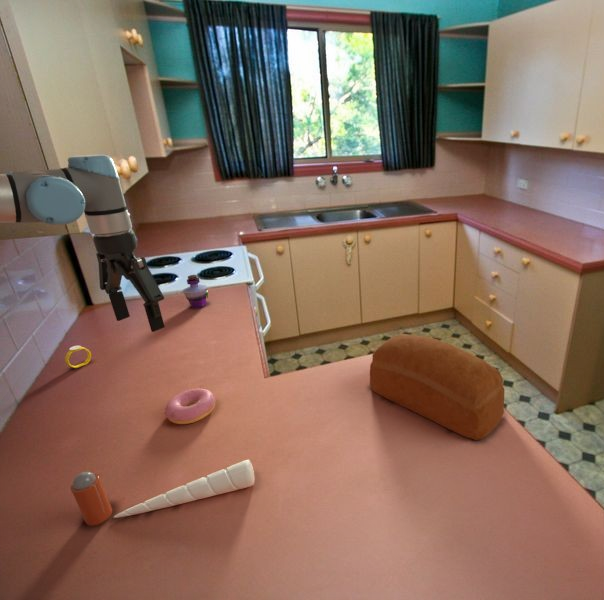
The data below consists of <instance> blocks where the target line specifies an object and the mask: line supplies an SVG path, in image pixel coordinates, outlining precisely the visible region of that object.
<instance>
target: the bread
mask: <svg viewBox="0 0 604 600" xmlns="http://www.w3.org/2000/svg"><path fill="white" fill-rule="evenodd" d="M503 383H504V379H503V376H502V375H501V373H500V370H498V369H497V368H495V367H494V366H493V365H491V364H490V363H489V362H487V361H485V360H484V359H482V358H480V357H478V356H477V355H475V354H472V353H470V352H468V351H466V350H464V349H462V348H460V347H457V346H456V345H453V344H450V343H448V342H447V341H442V340H440V339H437V338H434V337H428V336H424V335H417V334H410V333H409V334H408V333H400V334H396V335H393V336H392V337H390V338H388V339H387V340H385V341H384V342H383V343H382V344H381V345H380V346H378V347H377V348H376V349H375V351H373V353H372V361H371V363H370V365H369V385H370V389H371V390H372V391H373V393H376V394H378V395H379V396H381V397H383V398H385V399H387V400H388V401H391V402H393V403H395V404H397V405H398V406H401V407H403V408H406V409H407V410H410V411H411V412H414V413H416V414H418V415H420V416H422V417H424V418H427V419H428V420H430V421H432V422H433V423H436V424H438V425H439V426H442V427H444V428H446V429H448V430H450V431H452V432H455V433H457V434H459V435H461V436H463V437H466V438H468V439H471V440H474V441H478V440H482V439H484V438H486V437H488V435H490V434H491V432H493V431H494V430H495V428H496V427H497V426H498V425H499V424H500V422H501V420H502V418H503V415H504V411H505V410H504V409H505V388H504V386H503Z"/></svg>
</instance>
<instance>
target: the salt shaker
mask: <svg viewBox="0 0 604 600" xmlns="http://www.w3.org/2000/svg"><path fill="white" fill-rule="evenodd" d="M70 491H71V494H72V496H73V498H74V501H75V502H76V504H77V507H78V509H79V511H80V513H81V516H82V519H83V520H84V522H85V524H86V525H87V526H91V527H92V526H96V525H97V526H98V525H99V524H102V523H104V522H105V521H107V520H108V519H109V518H110V517H111V515H112V514H113V508H112V505H111V503H110V500H109V498H108V495H107V493H106V490H105V488H104V485H103V483H102V481H101V479H100V476H99V475H98V474H97V473H93V471H92V472H91V471H82V472H80V473H78V474H77V475H76V476H75V477H74V478H73V480H72V484H71V486H70Z"/></svg>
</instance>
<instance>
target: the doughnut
mask: <svg viewBox="0 0 604 600" xmlns="http://www.w3.org/2000/svg"><path fill="white" fill-rule="evenodd" d="M215 406H216V397H215V394H213V392H212V391H210V390H209V389H205V388H202V387H200V388H190V389H187V390H186V389H185V390H183V391H180V392H179V393H177V394H176V395H174V396H172V397H171V398H170V399H169V400H168V402H167V404H166V405H165V407H164V414H165V417H166V418H167V420H168V421H170V422H171V423H173V424H176V425H177V424H178V425H187V424H192V423H196V422H198V421H201V420H203V419H205V418H206V417H207V416H209V415H210V414H211V412H212V411H213V410H214V408H215Z"/></svg>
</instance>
